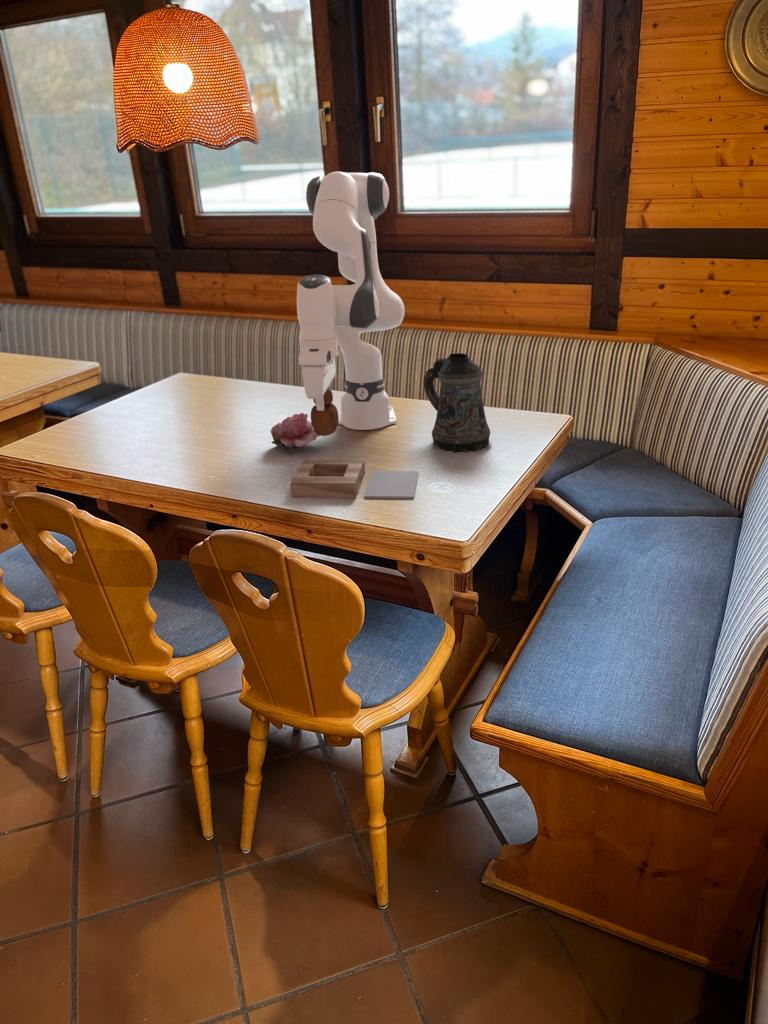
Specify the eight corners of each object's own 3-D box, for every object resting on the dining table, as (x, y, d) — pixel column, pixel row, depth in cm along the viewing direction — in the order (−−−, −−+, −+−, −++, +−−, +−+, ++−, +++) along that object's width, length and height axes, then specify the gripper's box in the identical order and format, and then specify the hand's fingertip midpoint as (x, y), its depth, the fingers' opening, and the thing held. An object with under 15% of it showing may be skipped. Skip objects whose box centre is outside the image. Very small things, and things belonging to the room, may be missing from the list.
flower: (332, 431, 219) (318, 400, 215) (315, 455, 207) (300, 423, 203) (288, 441, 225) (275, 412, 221) (269, 465, 213) (255, 435, 209)
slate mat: (372, 472, 197) (372, 470, 197) (418, 473, 195) (418, 471, 195) (364, 498, 182) (364, 496, 182) (413, 498, 181) (413, 496, 181)
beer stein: (487, 454, 206) (489, 363, 195) (417, 451, 210) (415, 363, 199) (492, 433, 220) (494, 348, 210) (426, 431, 224) (425, 348, 213)
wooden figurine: (326, 427, 189) (322, 368, 183) (343, 432, 186) (339, 372, 179) (307, 435, 185) (302, 375, 178) (324, 440, 181) (320, 379, 175)
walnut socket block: (305, 472, 199) (303, 458, 197) (365, 472, 197) (364, 458, 195) (291, 497, 185) (290, 482, 183) (356, 498, 183) (355, 483, 181)
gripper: (314, 338, 186) (318, 392, 192) (296, 360, 167) (302, 419, 174) (339, 338, 185) (343, 392, 191) (324, 359, 167) (329, 419, 173)
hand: (323, 405), depth 182 cm, fingers closed on wooden figurine, 5 cm apart
